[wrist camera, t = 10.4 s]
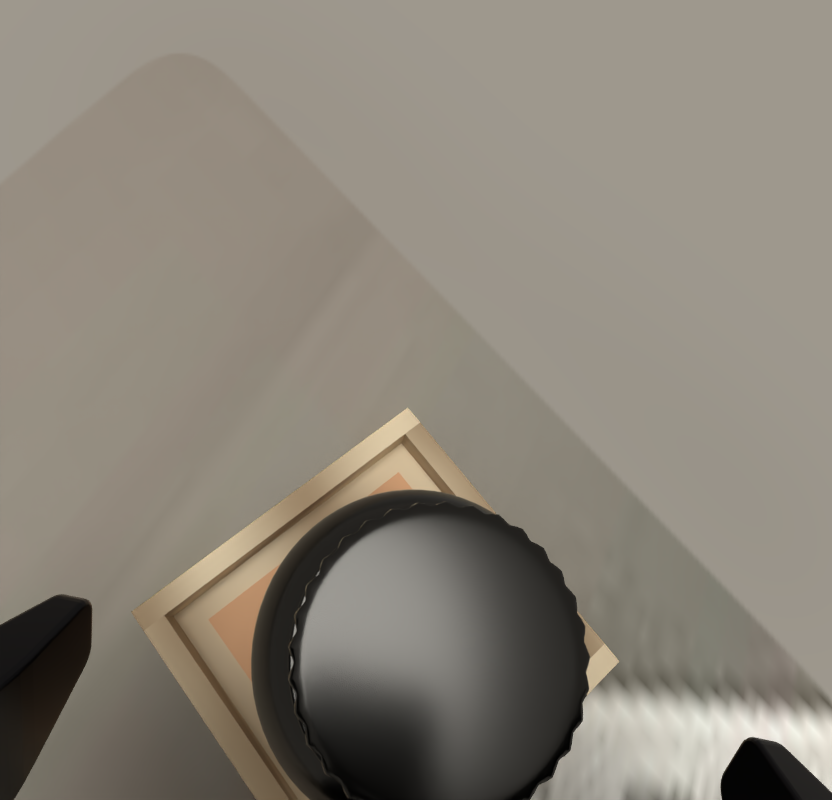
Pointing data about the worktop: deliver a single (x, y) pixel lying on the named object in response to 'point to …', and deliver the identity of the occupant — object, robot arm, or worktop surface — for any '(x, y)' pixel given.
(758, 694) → the worktop surface
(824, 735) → the worktop surface
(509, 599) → the supplement bottle
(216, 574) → the tray
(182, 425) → the worktop surface
